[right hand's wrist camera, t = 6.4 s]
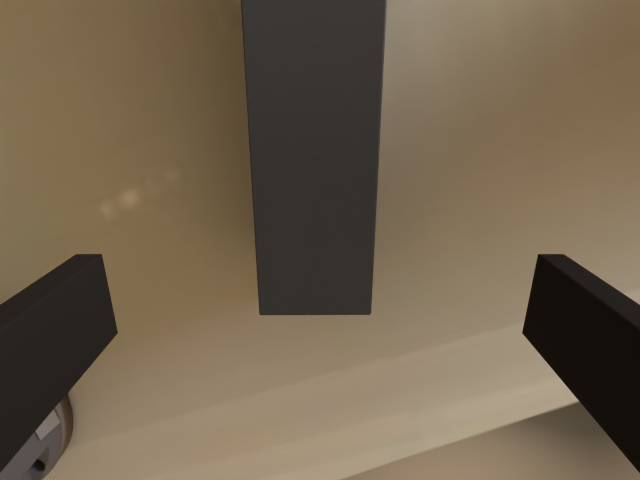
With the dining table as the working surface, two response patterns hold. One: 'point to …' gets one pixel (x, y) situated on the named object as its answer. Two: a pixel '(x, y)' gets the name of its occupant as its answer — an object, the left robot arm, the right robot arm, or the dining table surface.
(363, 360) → the dining table surface
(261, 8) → the beam
